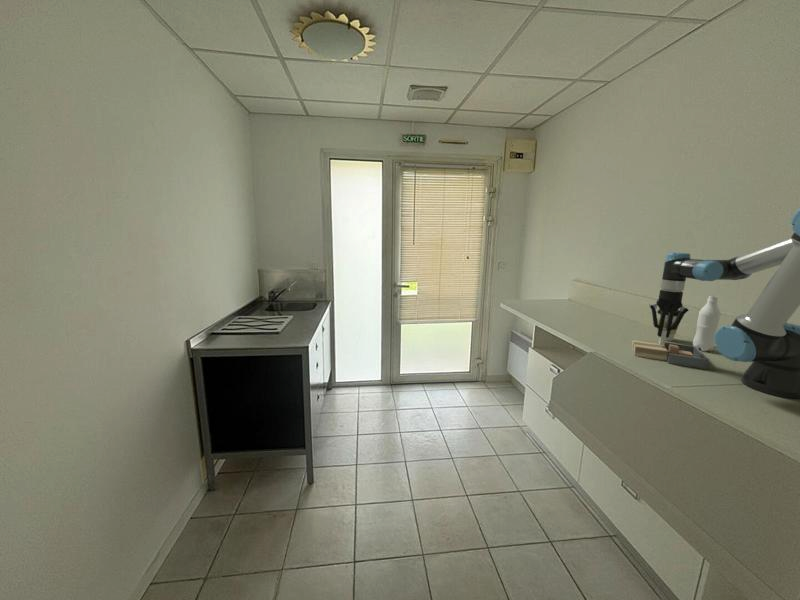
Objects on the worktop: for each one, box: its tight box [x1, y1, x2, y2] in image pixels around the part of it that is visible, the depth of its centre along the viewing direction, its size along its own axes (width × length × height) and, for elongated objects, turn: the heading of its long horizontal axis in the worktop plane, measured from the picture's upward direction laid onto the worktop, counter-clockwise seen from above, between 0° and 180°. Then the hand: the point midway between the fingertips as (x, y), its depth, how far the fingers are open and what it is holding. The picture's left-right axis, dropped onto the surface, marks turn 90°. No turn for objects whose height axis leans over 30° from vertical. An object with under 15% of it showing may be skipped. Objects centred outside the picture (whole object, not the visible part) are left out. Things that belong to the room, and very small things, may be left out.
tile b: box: [678, 350, 693, 357], centre depth 138 cm, size 4×4×2 cm
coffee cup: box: [656, 308, 680, 342], centre depth 163 cm, size 10×10×15 cm
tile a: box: [668, 344, 679, 355], centre depth 139 cm, size 4×4×2 cm
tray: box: [664, 341, 710, 370], centre depth 138 cm, size 18×12×4 cm, turn 150°
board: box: [630, 338, 668, 362], centre depth 143 cm, size 12×11×4 cm
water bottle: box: [692, 294, 722, 352], centre depth 147 cm, size 7×7×25 cm
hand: (661, 344), depth 141 cm, fingers closed
